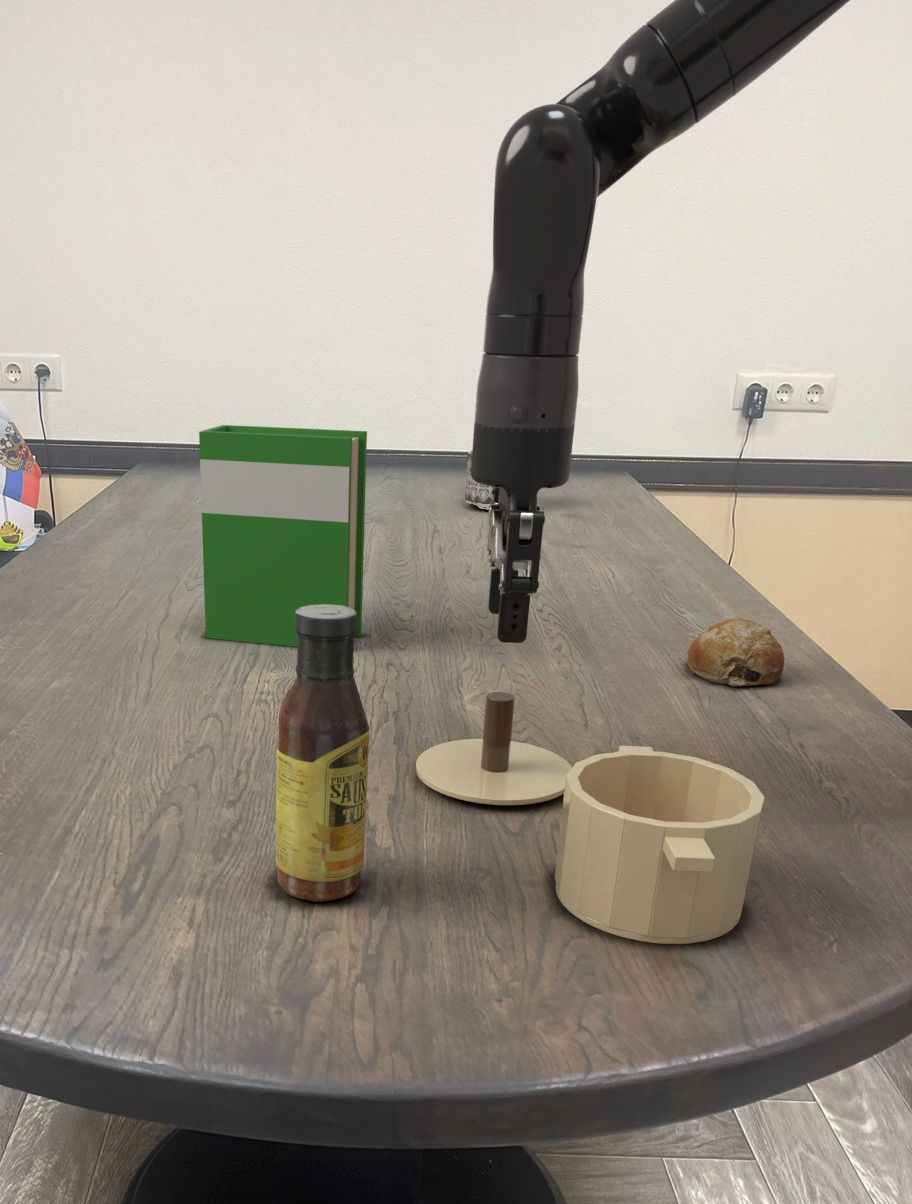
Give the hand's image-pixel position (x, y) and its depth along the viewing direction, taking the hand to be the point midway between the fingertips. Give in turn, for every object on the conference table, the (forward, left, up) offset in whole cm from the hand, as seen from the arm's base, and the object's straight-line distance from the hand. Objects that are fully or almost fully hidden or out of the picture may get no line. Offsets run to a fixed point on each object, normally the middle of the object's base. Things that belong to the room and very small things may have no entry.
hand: (505, 626), depth 91 cm
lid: (0, 0, -13) cm, 13 cm away
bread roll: (-29, -32, -14) cm, 46 cm away
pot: (-9, +20, -14) cm, 26 cm away
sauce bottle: (+14, +20, -14) cm, 28 cm away
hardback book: (+22, -42, -14) cm, 50 cm away
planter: (-12, -135, -14) cm, 136 cm away
